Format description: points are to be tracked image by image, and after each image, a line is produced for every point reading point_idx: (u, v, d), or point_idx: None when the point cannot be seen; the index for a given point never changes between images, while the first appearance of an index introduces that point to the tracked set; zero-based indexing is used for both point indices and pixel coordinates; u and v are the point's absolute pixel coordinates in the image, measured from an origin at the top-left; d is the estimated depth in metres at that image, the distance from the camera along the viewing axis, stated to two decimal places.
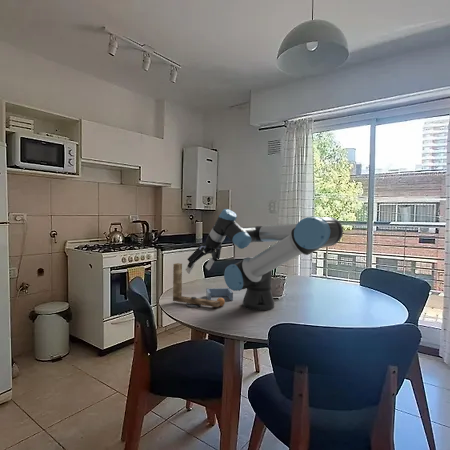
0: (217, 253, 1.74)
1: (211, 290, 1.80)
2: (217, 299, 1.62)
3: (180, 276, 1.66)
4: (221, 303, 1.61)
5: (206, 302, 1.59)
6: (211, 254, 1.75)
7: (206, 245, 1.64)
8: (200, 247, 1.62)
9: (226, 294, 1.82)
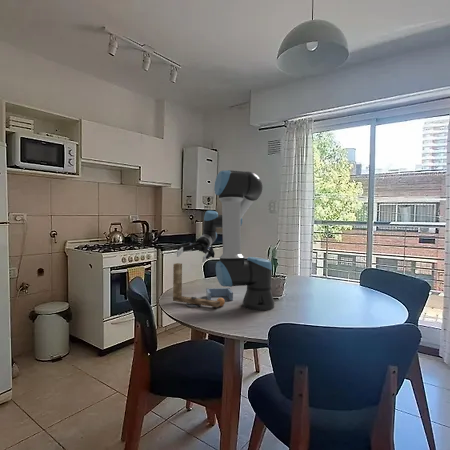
0: (211, 251, 1.78)
1: (211, 290, 1.80)
2: (217, 299, 1.62)
3: (180, 276, 1.66)
4: (221, 303, 1.61)
5: (206, 302, 1.59)
6: None
7: None
8: None
9: (226, 294, 1.82)
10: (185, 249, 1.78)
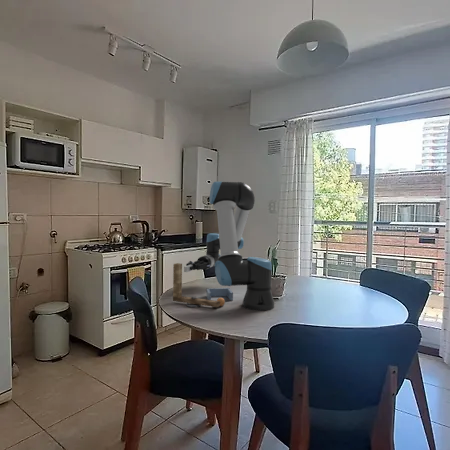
0: None
1: (211, 290, 1.80)
2: (217, 299, 1.62)
3: (180, 276, 1.66)
4: (221, 303, 1.61)
5: (206, 302, 1.59)
6: None
7: (194, 262, 1.93)
8: None
9: (226, 294, 1.82)
10: None
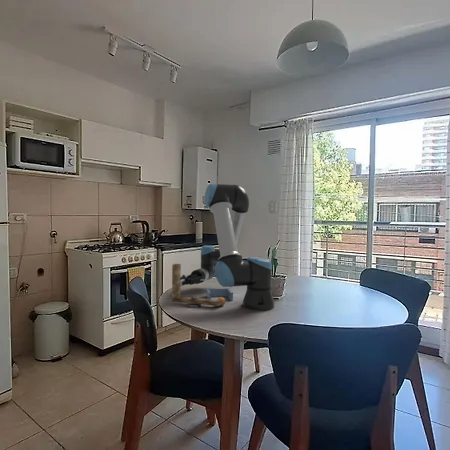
0: None
1: (211, 290, 1.80)
2: (218, 298, 1.64)
3: (179, 276, 1.65)
4: (222, 301, 1.62)
5: (207, 301, 1.60)
6: None
7: None
8: None
9: (226, 294, 1.82)
10: (185, 281, 1.76)
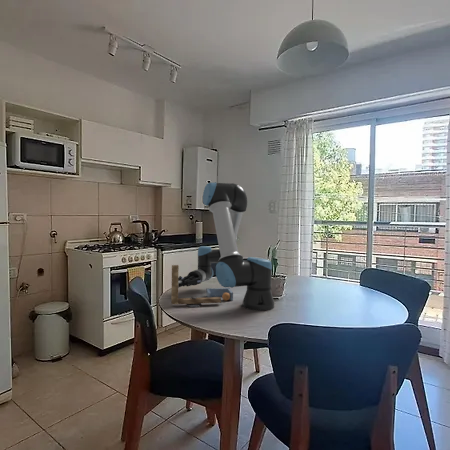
0: None
1: (211, 290, 1.80)
2: (222, 297, 1.72)
3: None
4: None
5: (209, 300, 1.63)
6: None
7: None
8: None
9: None
10: None
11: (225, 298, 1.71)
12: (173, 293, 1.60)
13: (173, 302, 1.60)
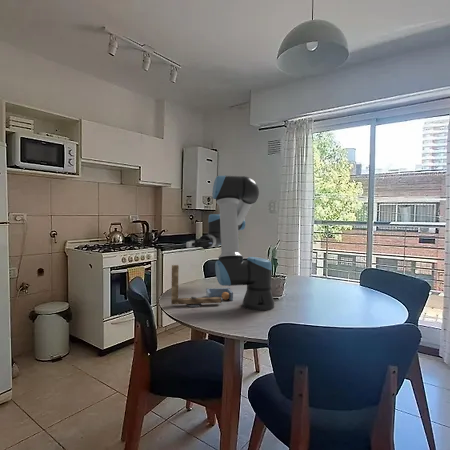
0: None
1: (211, 290, 1.80)
2: (222, 295, 1.74)
3: None
4: (227, 297, 1.73)
5: (209, 300, 1.63)
6: (197, 245, 1.83)
7: None
8: None
9: None
10: None
11: (224, 295, 1.73)
12: (173, 293, 1.60)
13: (173, 302, 1.60)
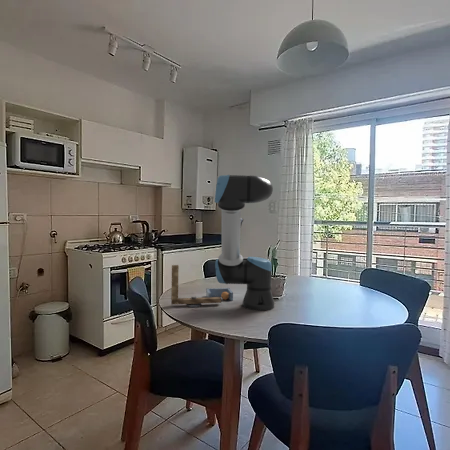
0: None
1: (211, 290, 1.80)
2: (221, 295, 1.74)
3: None
4: (226, 296, 1.73)
5: (209, 300, 1.63)
6: None
7: None
8: None
9: None
10: None
11: (224, 294, 1.73)
12: (173, 293, 1.60)
13: (173, 302, 1.60)
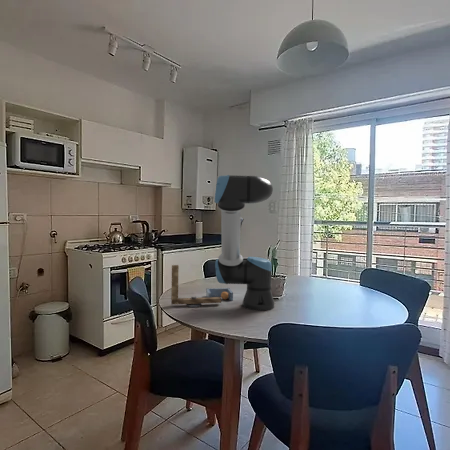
0: None
1: (211, 290, 1.80)
2: (221, 295, 1.74)
3: None
4: (226, 296, 1.73)
5: (209, 300, 1.63)
6: None
7: None
8: None
9: None
10: None
11: (223, 294, 1.74)
12: (173, 293, 1.60)
13: (173, 302, 1.60)
